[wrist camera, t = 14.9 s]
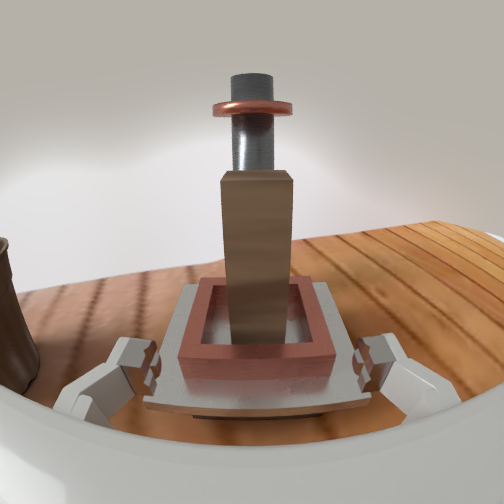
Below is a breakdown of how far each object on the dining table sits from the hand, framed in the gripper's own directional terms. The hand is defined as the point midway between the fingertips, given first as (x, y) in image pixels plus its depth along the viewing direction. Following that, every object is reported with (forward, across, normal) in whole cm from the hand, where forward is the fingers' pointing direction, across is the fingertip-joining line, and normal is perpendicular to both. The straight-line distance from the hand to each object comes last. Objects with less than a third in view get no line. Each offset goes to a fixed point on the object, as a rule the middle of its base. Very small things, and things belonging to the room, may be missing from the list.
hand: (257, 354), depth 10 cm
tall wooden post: (+12, 0, +9) cm, 15 cm away
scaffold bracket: (+16, 0, +15) cm, 22 cm away
